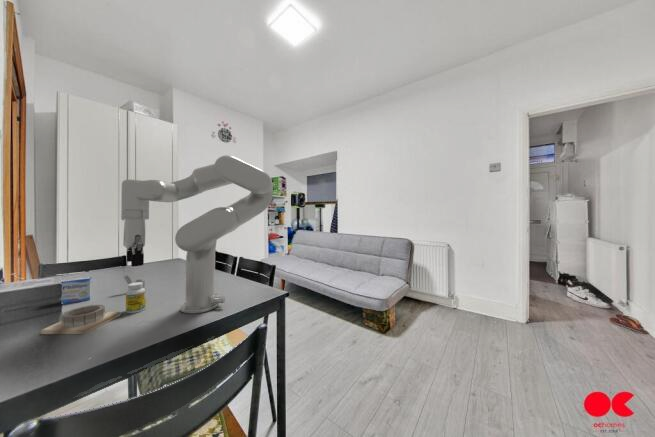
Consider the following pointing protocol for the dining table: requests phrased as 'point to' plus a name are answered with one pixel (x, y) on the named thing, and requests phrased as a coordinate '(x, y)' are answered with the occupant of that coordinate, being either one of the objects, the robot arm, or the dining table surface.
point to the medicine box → (76, 290)
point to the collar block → (81, 320)
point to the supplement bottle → (135, 298)
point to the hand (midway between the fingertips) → (134, 263)
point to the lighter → (133, 282)
